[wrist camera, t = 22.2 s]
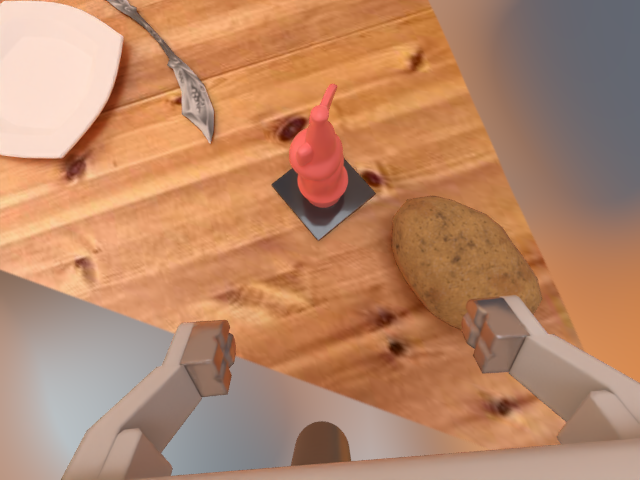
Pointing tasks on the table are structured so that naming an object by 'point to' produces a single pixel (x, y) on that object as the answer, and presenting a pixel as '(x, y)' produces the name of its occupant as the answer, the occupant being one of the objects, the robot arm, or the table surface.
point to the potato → (458, 258)
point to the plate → (52, 76)
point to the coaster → (323, 218)
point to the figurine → (319, 157)
